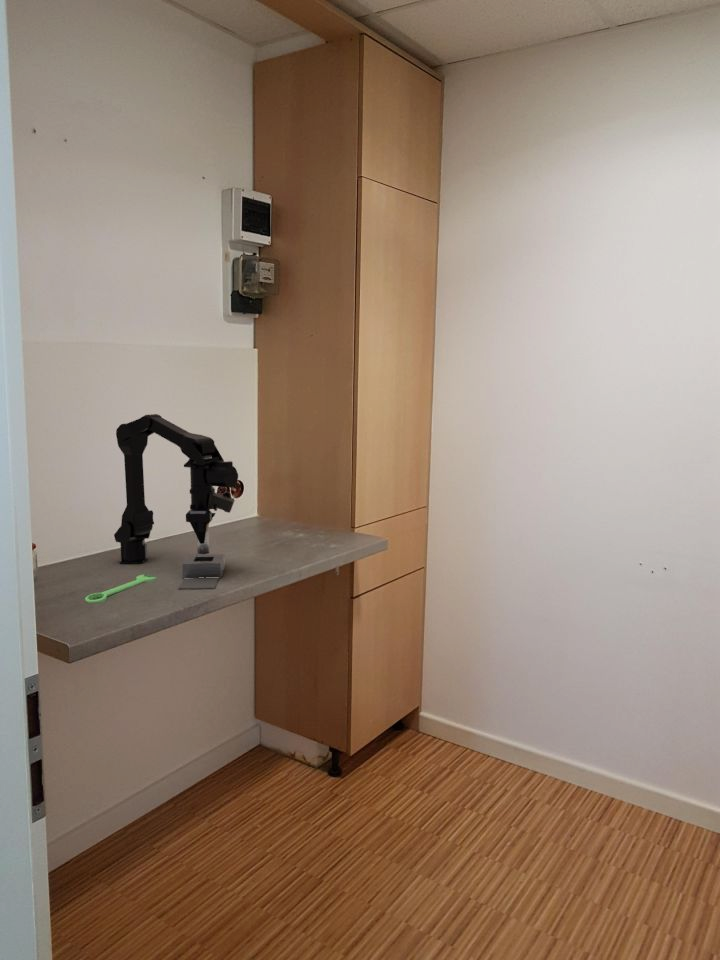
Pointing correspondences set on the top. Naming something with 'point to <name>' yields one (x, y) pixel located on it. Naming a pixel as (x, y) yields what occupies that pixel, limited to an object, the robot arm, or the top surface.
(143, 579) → the wrench
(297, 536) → the top surface
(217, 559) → the block
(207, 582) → the rubber mat
